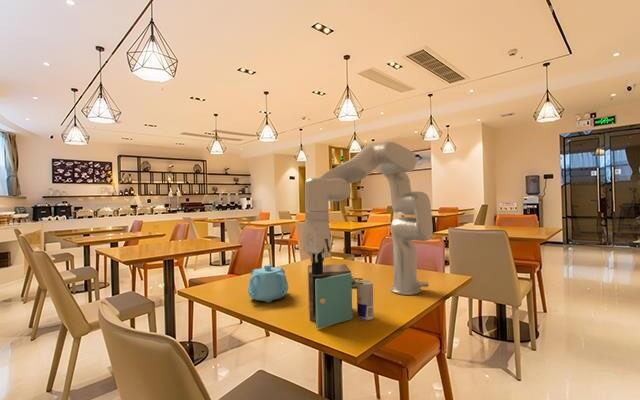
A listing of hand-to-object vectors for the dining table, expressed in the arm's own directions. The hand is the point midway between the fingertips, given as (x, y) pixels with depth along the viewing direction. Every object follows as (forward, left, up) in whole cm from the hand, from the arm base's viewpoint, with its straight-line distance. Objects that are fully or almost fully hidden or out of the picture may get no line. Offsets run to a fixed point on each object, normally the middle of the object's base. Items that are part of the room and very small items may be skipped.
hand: (317, 274), depth 105 cm
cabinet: (-4, -9, -16) cm, 19 cm away
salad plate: (-13, -47, -17) cm, 52 cm away
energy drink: (-16, -4, -17) cm, 23 cm away
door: (-6, +1, -16) cm, 17 cm away
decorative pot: (+19, -30, -17) cm, 39 cm away
